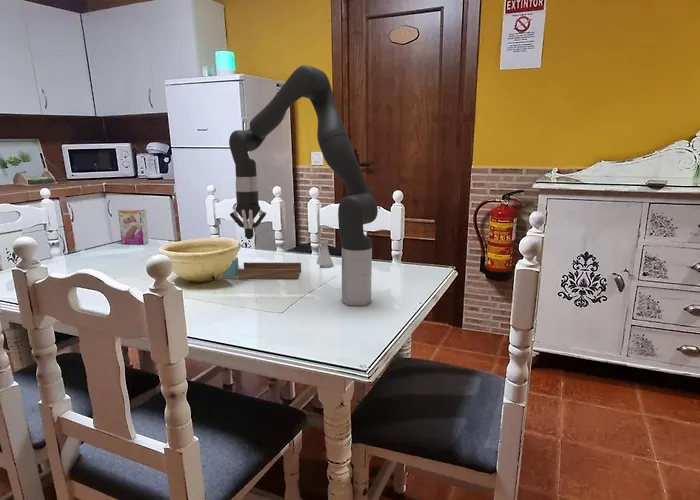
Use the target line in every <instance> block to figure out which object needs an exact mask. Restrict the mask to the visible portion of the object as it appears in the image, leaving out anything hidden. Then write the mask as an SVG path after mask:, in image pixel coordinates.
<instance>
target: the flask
mask: <svg viewBox="0 0 700 500" xmlns="http://www.w3.org/2000/svg"><path fill="white" fill-rule="evenodd" d="M319 242H320V250H319V253H318V256H317V260H316V262H315V263H316V264H317V265H319V267H320V268H332V267H333V266H334V263H333V259H332V257H331V254H330V251H329V247H328V245H329V241H328V240H325V239H324V240H320V241H319Z"/></svg>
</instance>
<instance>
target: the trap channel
mask: <svg viewBox="0 0 700 500" xmlns="http://www.w3.org/2000/svg"><path fill="white" fill-rule="evenodd" d="M301 274H302V262H243V268H239V269H238V275H237V276H236V277H219V278H217V279H216V280H299V279H300V277H301Z"/></svg>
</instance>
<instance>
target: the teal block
mask: <svg viewBox="0 0 700 500" xmlns="http://www.w3.org/2000/svg"><path fill="white" fill-rule="evenodd" d="M235 257H236V256H235ZM238 269H240V268H239V257H236V258H235V260H233V261H232V264H231V266H230V268H229V269H228V270H227V271H226V272H225V273H224V274H223V275H222V276H221V277H236V276H237V275H238Z"/></svg>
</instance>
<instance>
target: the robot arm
mask: <svg viewBox="0 0 700 500" xmlns="http://www.w3.org/2000/svg"><path fill="white" fill-rule="evenodd" d="M301 98H306V99H309V100H310V103H311V104H312V106H313V109H314V111H315V114H316V117H317V133H316V135H317V137H316V139H317V142H318V146H319V149H320V151H321V154H322V156H323V158H324V161H325V163H326V164H327V165H328V167H329V168H330V169H331V170H332V171H333V172H334V174H336V175H337V176H338V177H339V179H341V181H342V183H343V184H344V185H345V188H346V189H347V191H348V192H347V193H348V194H349V195H346V196H345V197H343V198H341V200H340V202H339V205H338V209H337V212H338V213H337V218H338V219H337V220H338V235H339V239H340V241H341V302H342V303H343V304H345V305H346V306H368V304H370V303H371V302H372V273H373V272H372V271H373V270H372V269H373V266H372V265H373V263H372V262H373V258H372V257H373V239H372V238H371V236H368V235H365V233H364V225H368V224H371V223H373V222H374V221H375V220H376V219H377V217H378V212H379V209H378V204H377V201H376V198H375V196H374V194H373V193H372V191H371V190H372V189H371V188H370V187H369V185H368V182H367V180H366V179H365V176H364V174H363V171H362V169H361V166H360V165H359V162H358V160H357V157H356V154H355V152H354V148H353V146H352V143H351V141H350V138H349V135H348V132H347V130H346V128H345V126H344V123H343V120H342V117H341V114H340V113H339V110H338V107H337V105H336V101H335V97H334V93H333V89H332V86H331V82H330V80H329V77H328V75H327V74H326V73H325V72H324V71H323V70H322V69H319V68H317V67H314V66H311V65H309V64H303V65H300V66H297V68H296V69H295V70H294V71H293V72H292V73H291V74H290V76H289V77H288V78H287V79H286V80H285V82H284V83H283V85H282V86H281V88H280V89H279V90H278V91H277V93H276V94H275V96H274V97H273V98H272V99H271V100H270V101H269V102H268V103H267V105H266V106H265V107H264V108H262V109H261V110H260V111H259V112H258V113H257V114H256V115H255V116H253V118H251V120H250V121H249V129H247V130H245V129H244V130H243V129H240V130H239V129H238V130H237V129H236V130H233V131H232V132H231V134H230V135H229V140H228V146H229V149H230V152H231V157H232V160H233V163H234V165H235V166H234V168H235V169H234V170H235V195H236V196H235V199H236V207H235V210H234V211H232V212H231V213H230V214H229V216H230V218H231V219H232V220H233V221H234V222H235V223H236V225H238V227H239V228H243V229H244V237H245V239H247V240H252V239H253V238H254V236H255V235H254V234H255V233H254V230H255V229H254V228H257V227H259V225H260V224H261V223H262V221H263V220H264V218H265V217H266V215H267V212H266V211H264V210H262V209H261V206H260V204H259V203H260V202H259V201H260V200H259V199H260V198H259V183H258V178H257V176H258V175H257V174H258V173H257V163H256V161H255V159H253V158H250V155H249V153H248V152H252V151H255V150H257V149H259V147H260V146H261V145H262V144H263V143H264V141H265V139H266V138H267V136H268V135H269V134H271V133H272V132H273V131H275V129H276V128H277V127H278V126H280V124H281V123H282V121H283V119H284V117H285V115H286V113H287V111H288V109H289V108H290V107H291V106H292V105H293V104H294V103H296V102H297V101H298V100H299V99H301ZM257 215H258V217H259V218H257V220H256V221H255V218H256V217H257ZM239 216H240V217H239ZM241 219H242V220H241Z"/></svg>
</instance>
